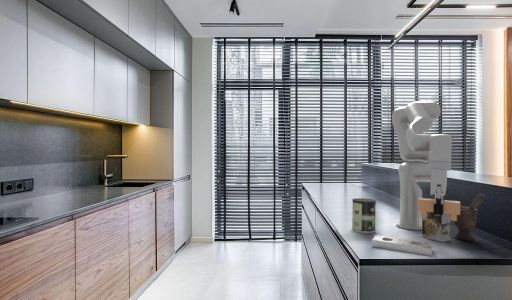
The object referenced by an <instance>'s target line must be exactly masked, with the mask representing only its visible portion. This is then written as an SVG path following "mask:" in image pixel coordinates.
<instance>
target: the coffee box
mask: <svg viewBox="0 0 512 300" xmlns="http://www.w3.org/2000/svg"><path fill="white" fill-rule="evenodd" d="M451 223H452V222H451V220H450V214H445V213H443V215H438V214H434V212H427V217H426V218H424V217H422V230H421V237H422V238H426V239H429V240H432V241H437V242H439V243H443V242H451V240H452V239H451V238H452V237H451V235H452V234H451V233H452V231H451V227H452V225H451Z"/></svg>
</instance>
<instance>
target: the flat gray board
mask: <svg viewBox="0 0 512 300" xmlns="http://www.w3.org/2000/svg"><path fill="white" fill-rule="evenodd" d="M371 247H373V248H374V247H375V248H380V249H386V250H393V251H400V252H404V253H405V252H406V253H411V252H412V254H413V253H414V254H417V253H418V255H425V256H430V257H431V256H432V255H433V254H432V253H433V243H432V242H427V241H419V240H413V239H405V238H397V237H391V236H384V235H377V234H375V235H374V237H373V238H372V239H371Z"/></svg>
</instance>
